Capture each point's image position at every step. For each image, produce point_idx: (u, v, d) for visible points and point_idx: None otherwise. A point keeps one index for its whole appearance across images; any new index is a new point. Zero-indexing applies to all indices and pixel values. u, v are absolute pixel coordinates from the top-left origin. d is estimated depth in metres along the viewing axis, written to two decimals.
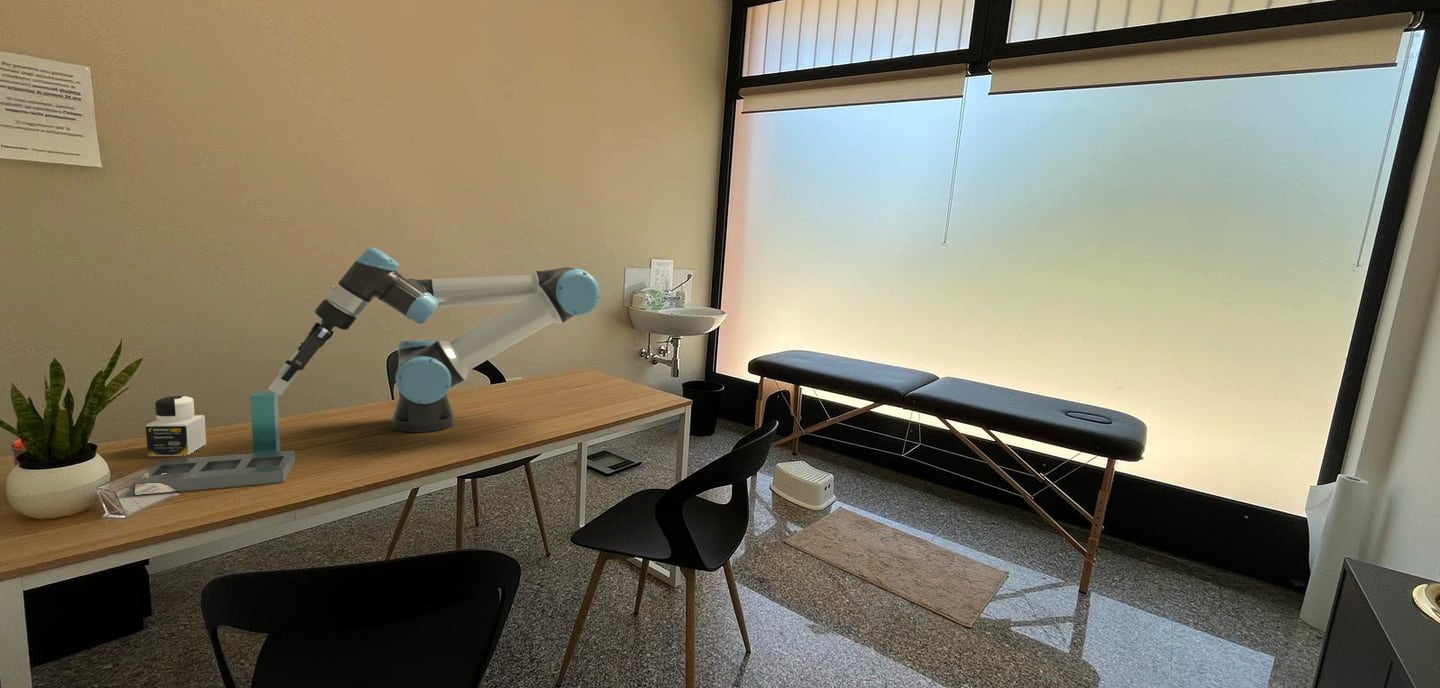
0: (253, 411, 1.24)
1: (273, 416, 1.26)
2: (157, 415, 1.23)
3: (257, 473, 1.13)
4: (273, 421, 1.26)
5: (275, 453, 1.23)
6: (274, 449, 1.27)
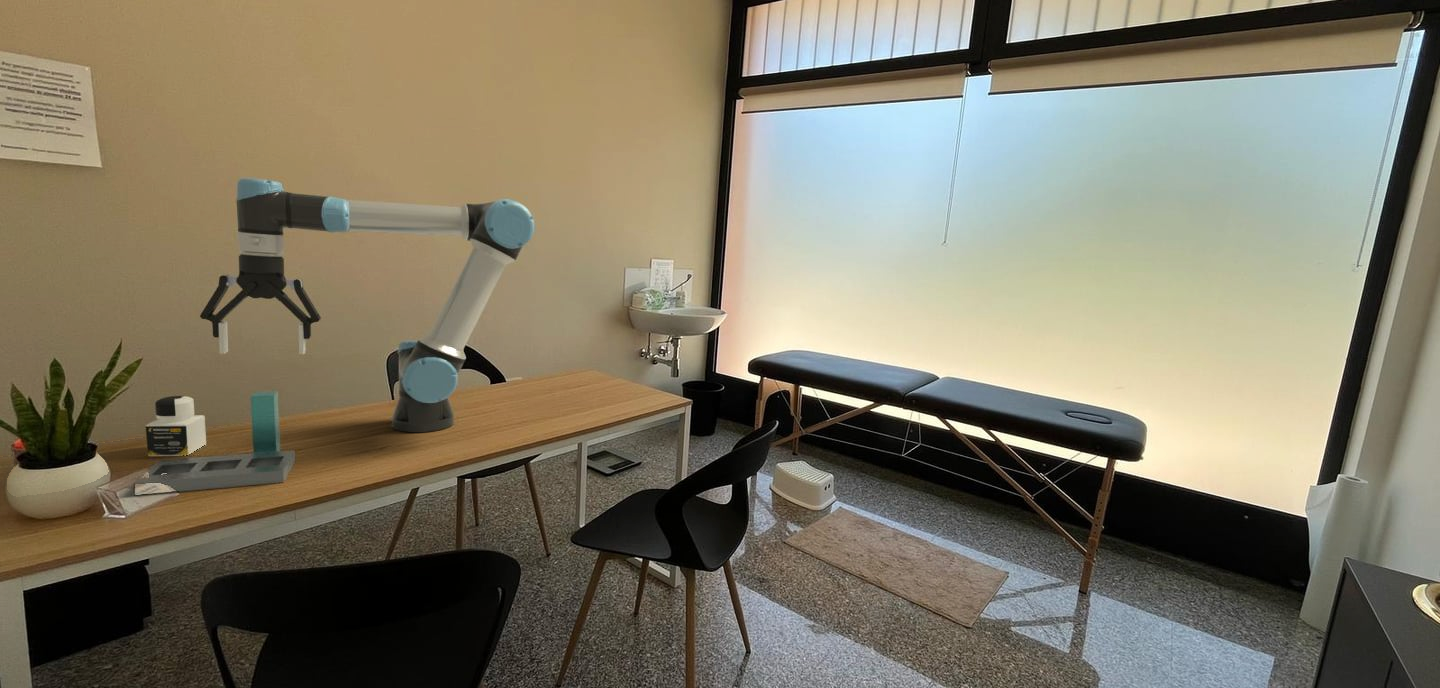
0: (253, 411, 1.24)
1: (273, 416, 1.26)
2: (157, 415, 1.23)
3: (257, 473, 1.13)
4: (273, 421, 1.26)
5: (275, 453, 1.23)
6: (274, 449, 1.27)
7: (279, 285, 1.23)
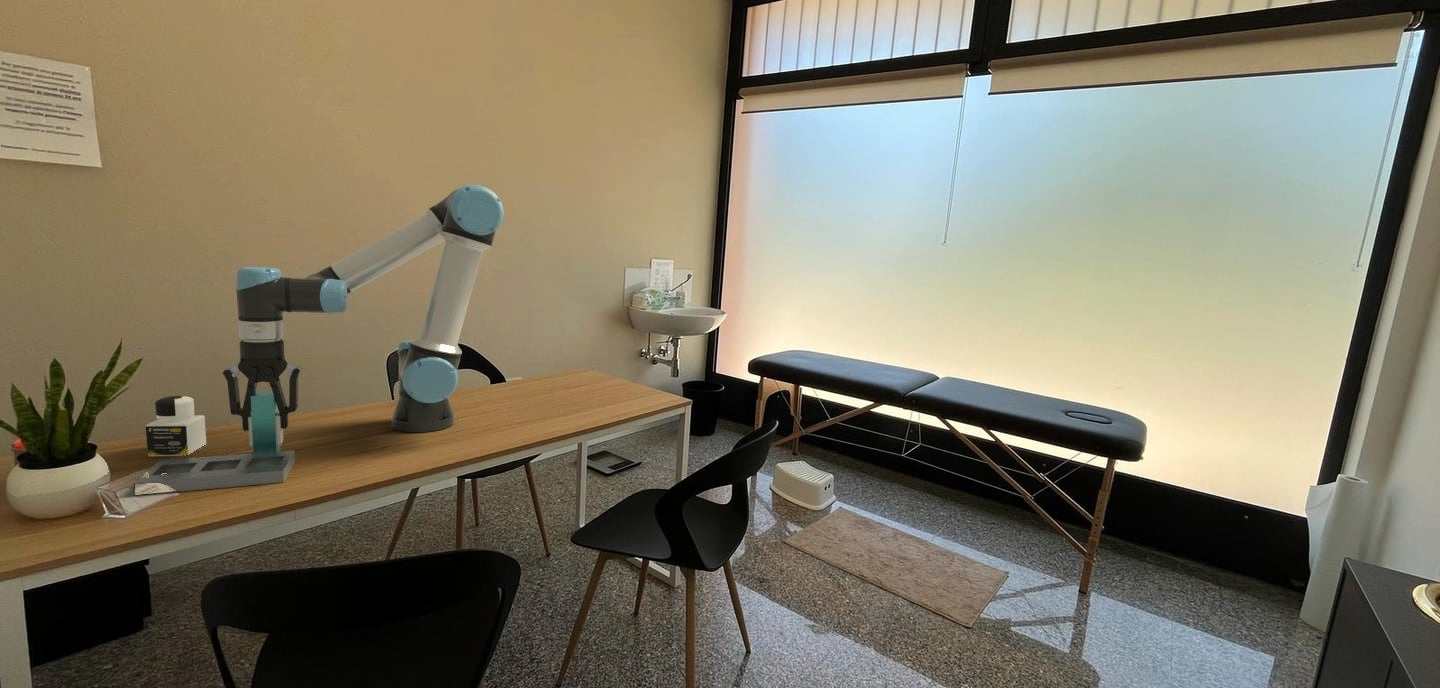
0: (253, 411, 1.24)
1: (273, 416, 1.26)
2: (157, 415, 1.23)
3: (257, 473, 1.13)
4: (273, 421, 1.26)
5: (275, 453, 1.23)
6: (274, 449, 1.27)
7: (278, 368, 1.26)
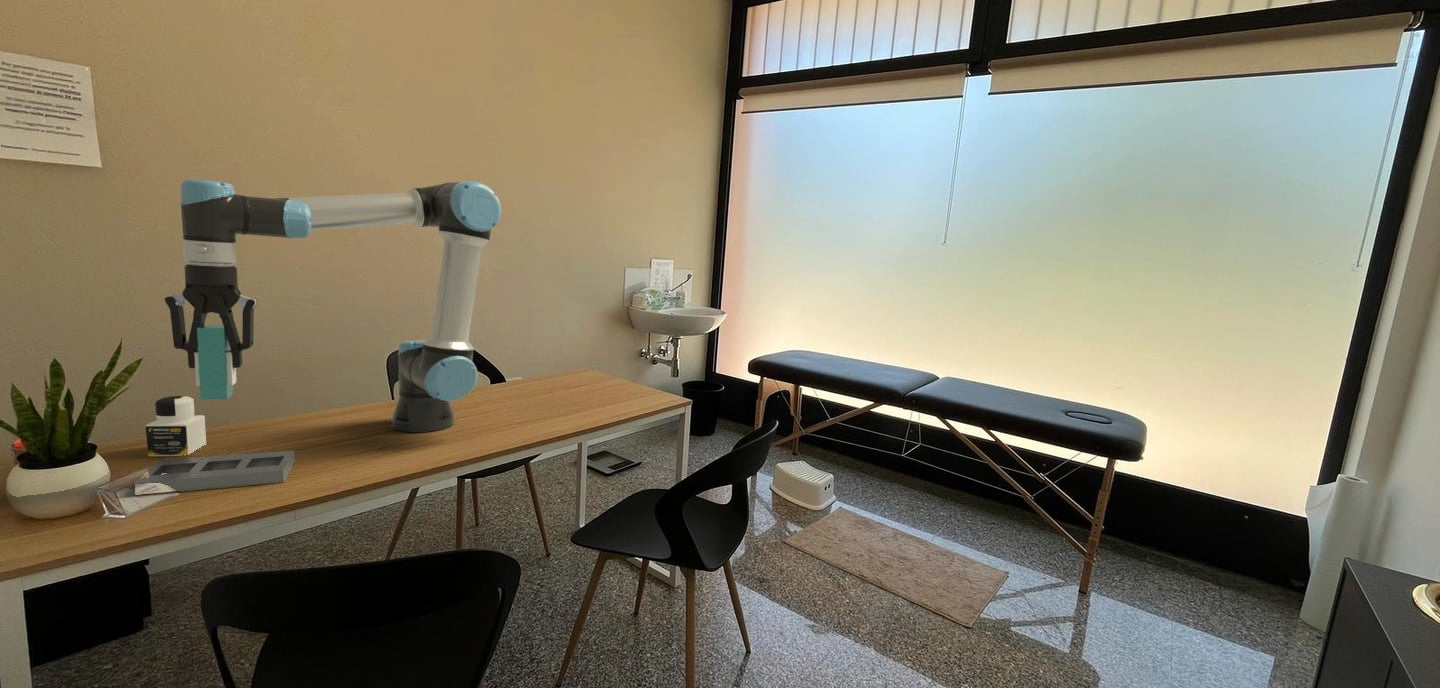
0: (200, 345, 1.10)
1: (223, 352, 1.11)
2: (157, 415, 1.23)
3: (257, 473, 1.13)
4: (223, 358, 1.11)
5: (275, 453, 1.23)
6: (224, 390, 1.12)
7: (230, 298, 1.11)
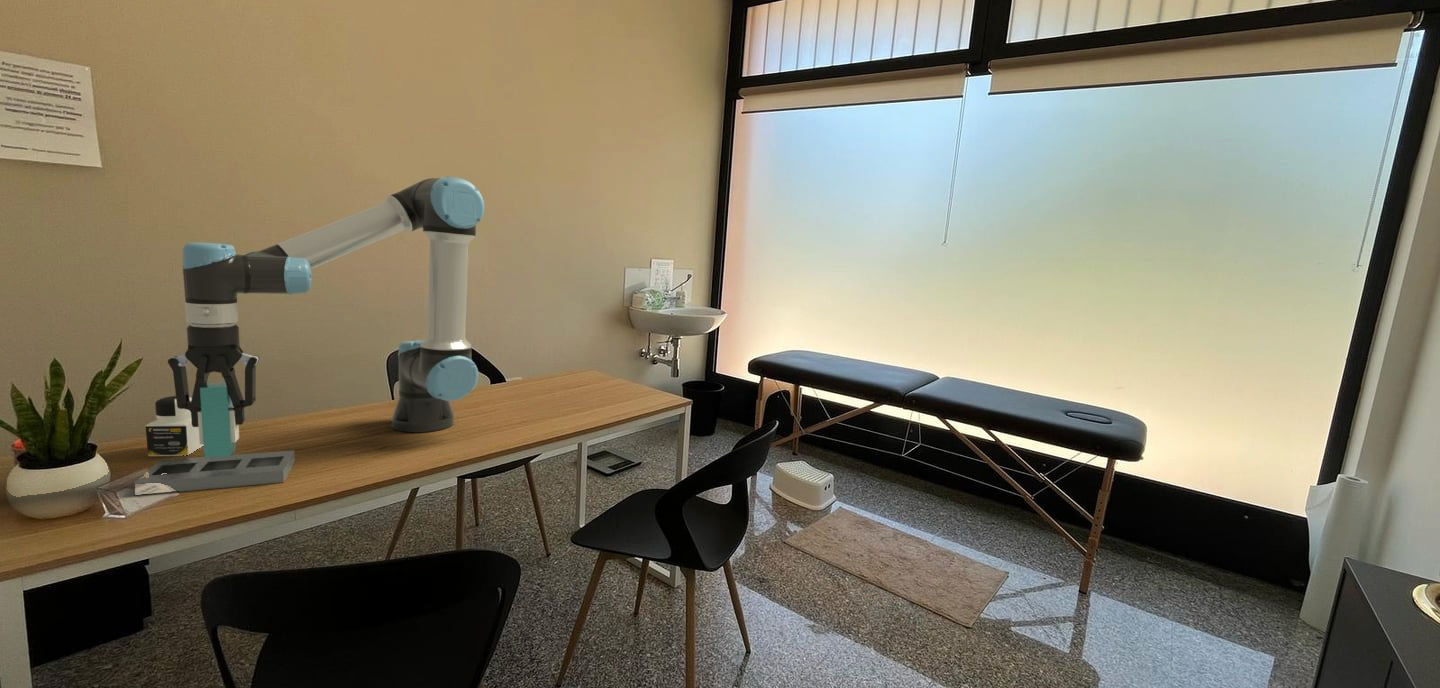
0: (203, 405, 1.11)
1: (226, 410, 1.13)
2: (157, 415, 1.23)
3: (257, 473, 1.13)
4: (226, 416, 1.13)
5: (275, 453, 1.23)
6: (228, 447, 1.14)
7: (232, 357, 1.12)
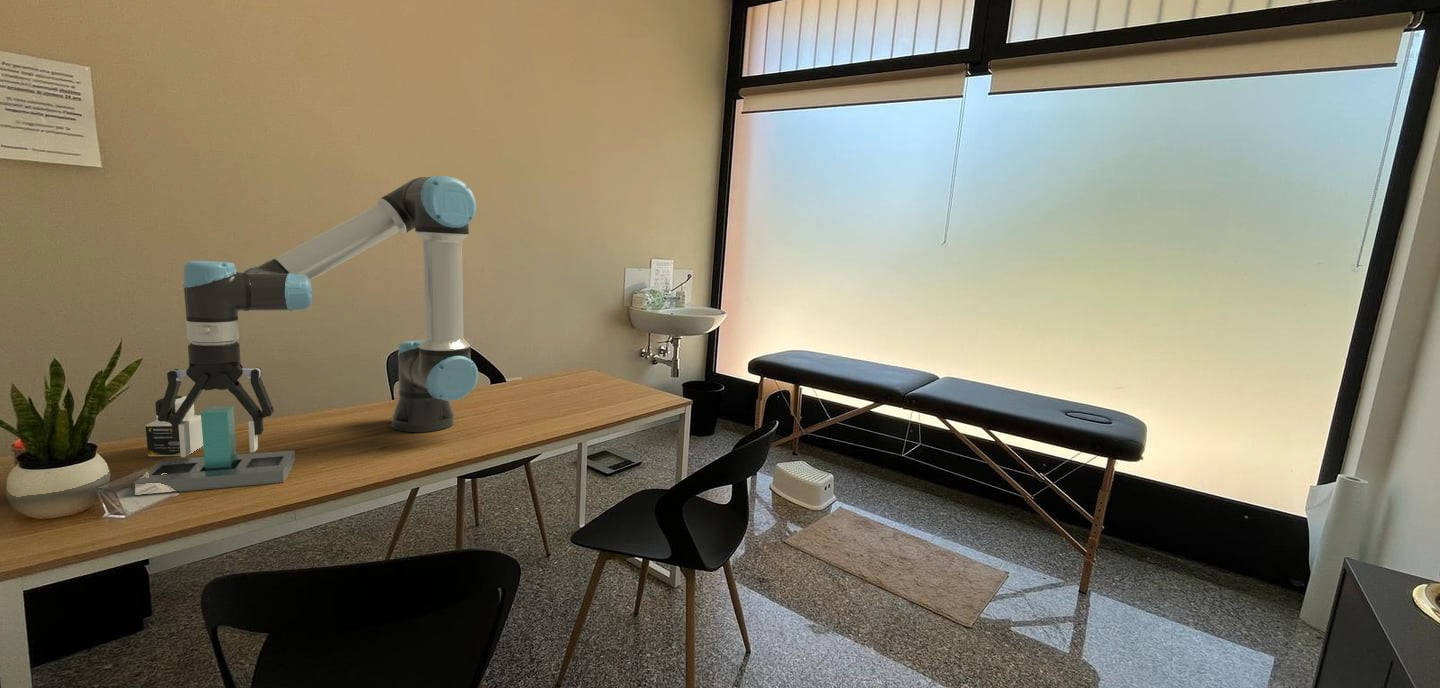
0: (204, 430, 1.11)
1: (227, 435, 1.13)
2: (157, 415, 1.23)
3: (257, 473, 1.13)
4: (227, 440, 1.13)
5: (275, 453, 1.23)
6: None
7: (234, 374, 1.13)
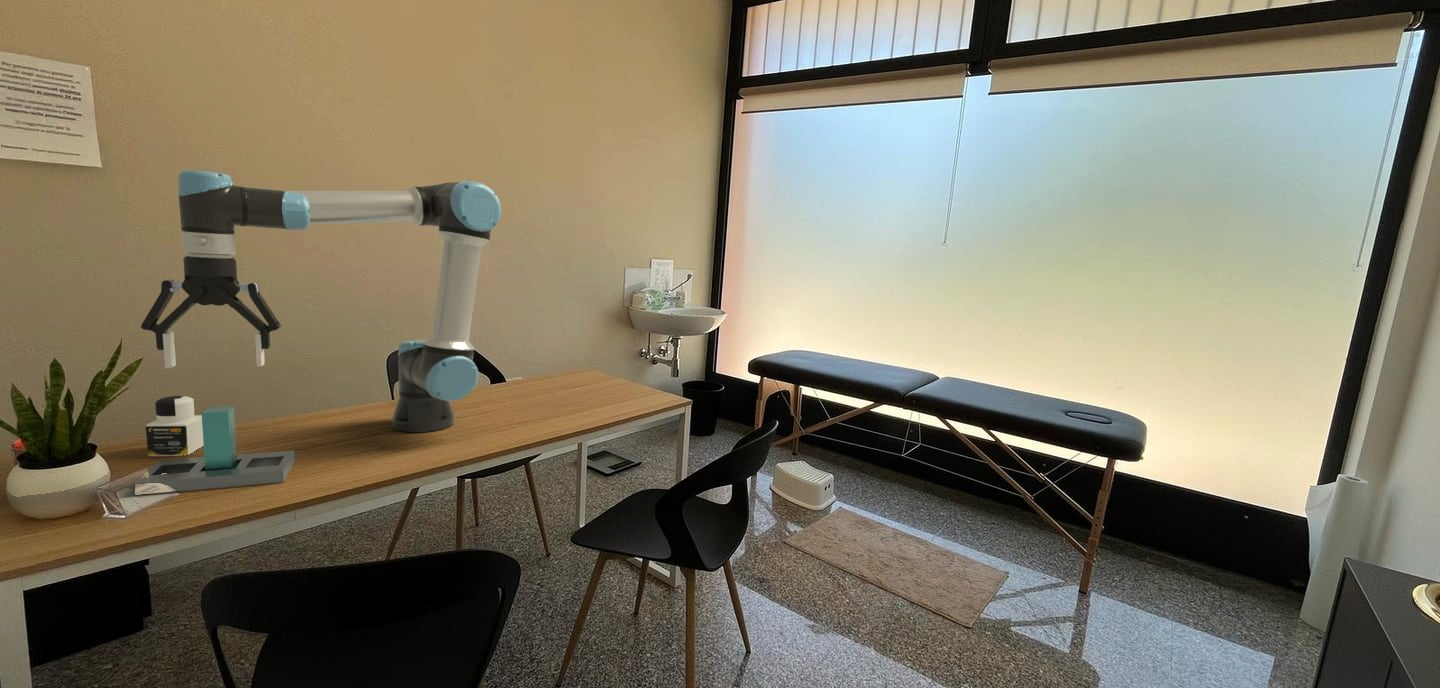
0: (205, 429, 1.12)
1: (228, 435, 1.13)
2: (157, 415, 1.23)
3: (257, 473, 1.13)
4: (228, 440, 1.13)
5: (275, 453, 1.23)
6: None
7: (231, 290, 1.11)
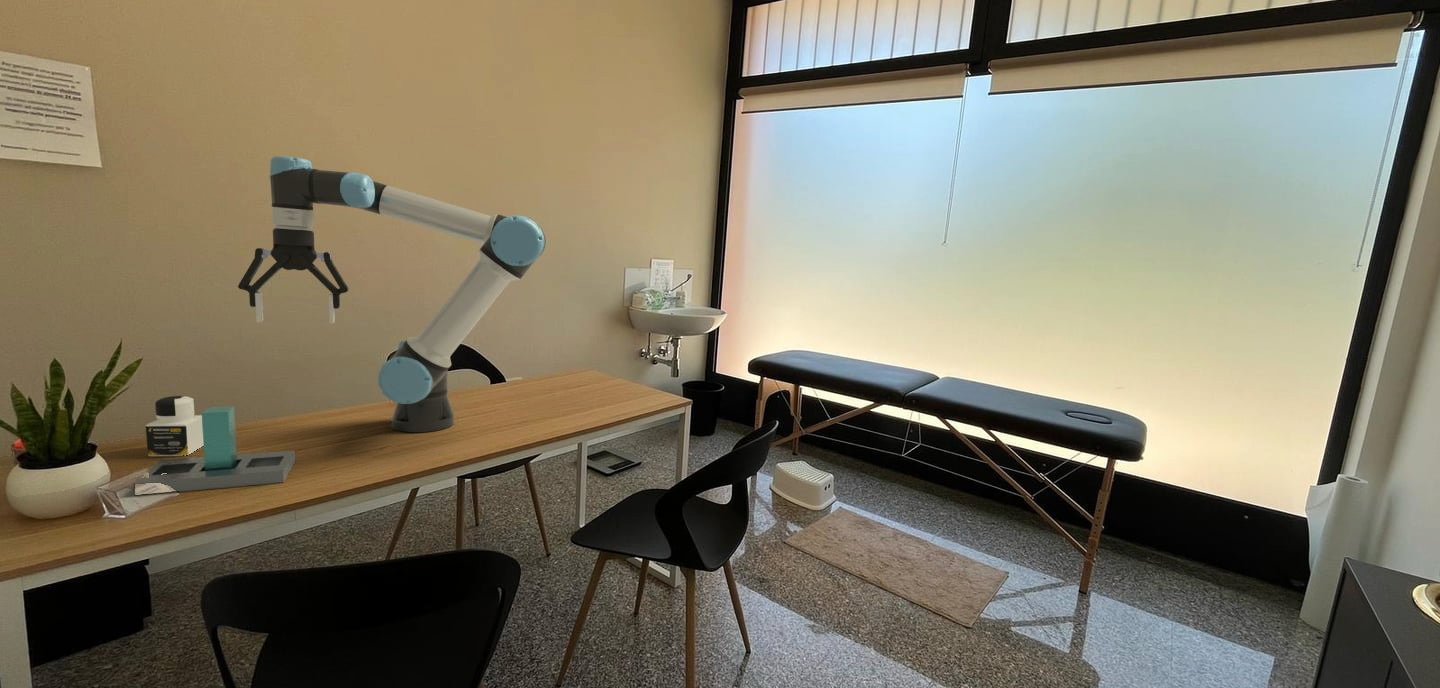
0: (205, 429, 1.12)
1: (228, 435, 1.13)
2: (157, 415, 1.23)
3: (257, 473, 1.13)
4: (228, 440, 1.13)
5: (275, 453, 1.23)
6: None
7: (310, 257, 1.32)
